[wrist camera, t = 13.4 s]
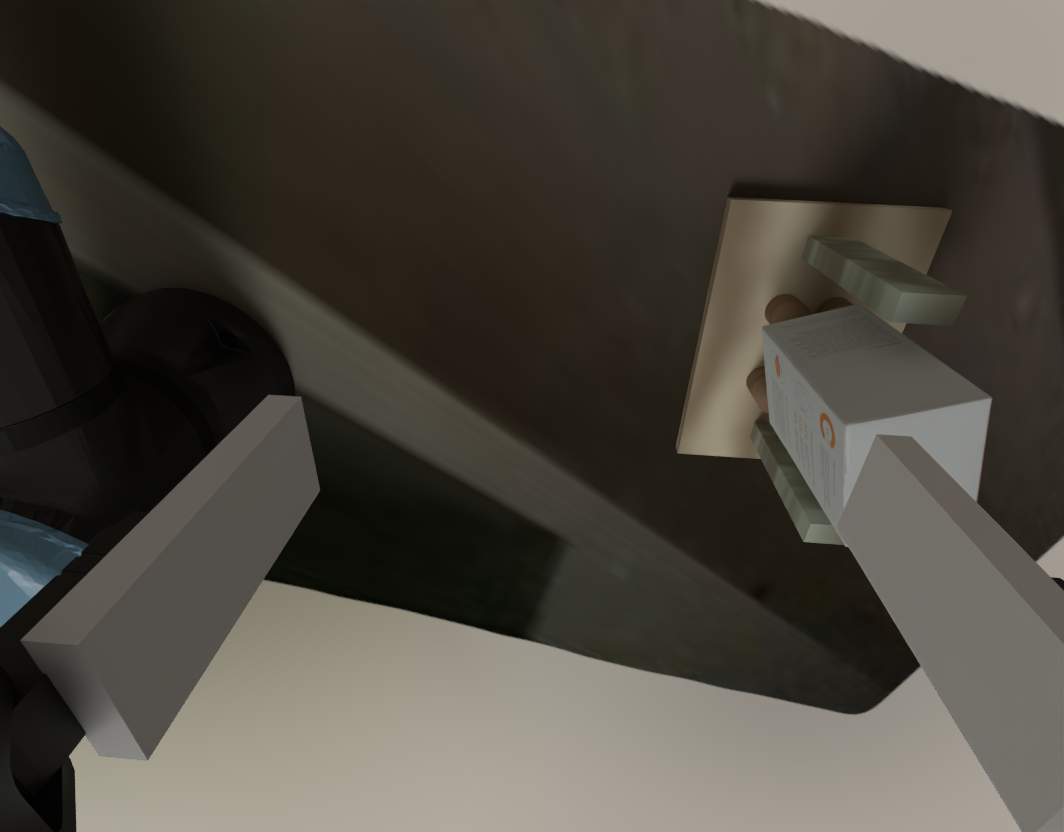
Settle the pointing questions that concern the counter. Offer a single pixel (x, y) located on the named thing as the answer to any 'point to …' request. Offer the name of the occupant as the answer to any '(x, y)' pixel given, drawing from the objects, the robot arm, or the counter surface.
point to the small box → (866, 401)
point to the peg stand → (800, 315)
